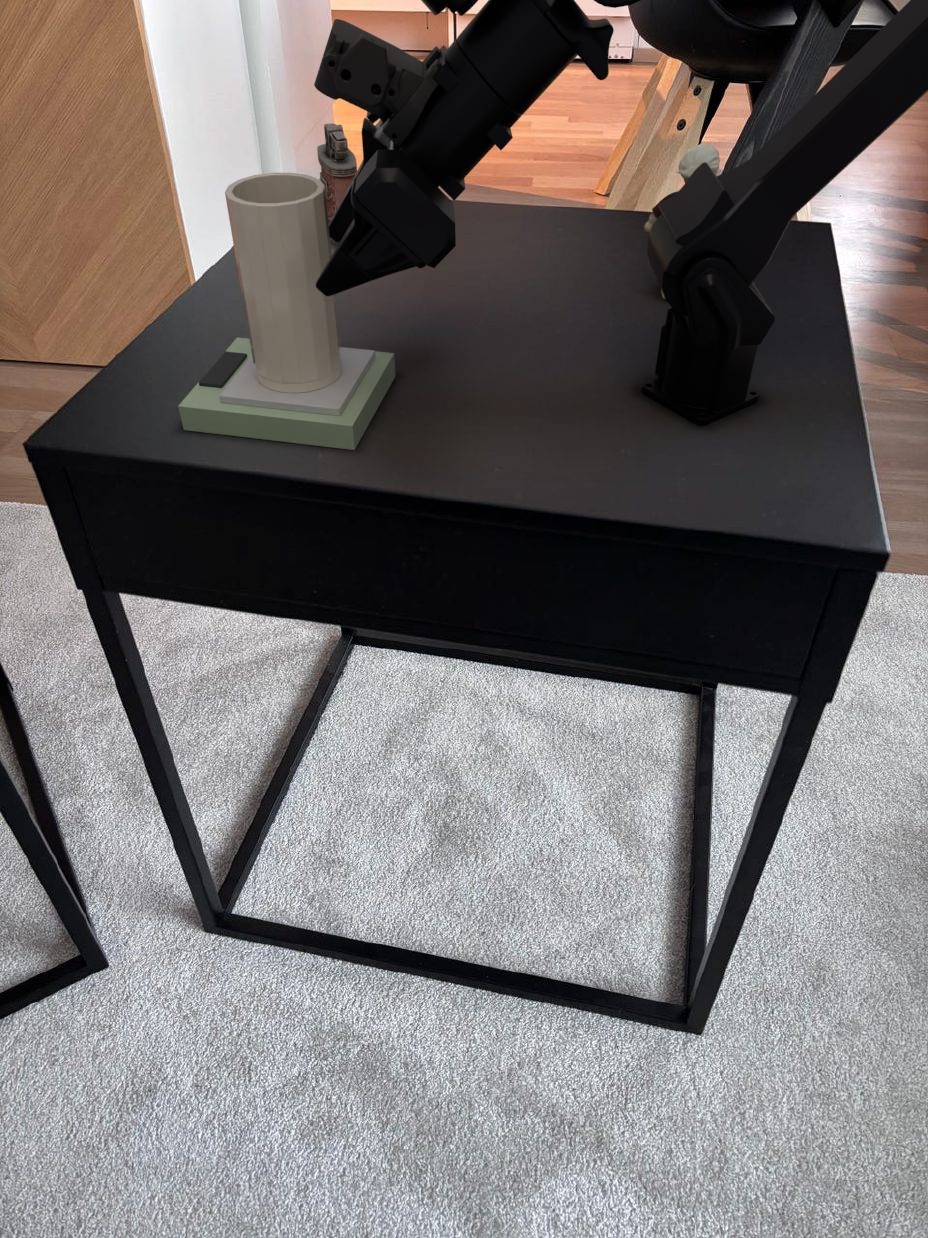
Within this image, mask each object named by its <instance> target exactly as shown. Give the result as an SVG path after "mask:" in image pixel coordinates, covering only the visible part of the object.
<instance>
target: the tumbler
mask: <svg viewBox="0 0 928 1238" xmlns="http://www.w3.org/2000/svg"><path fill="white" fill-rule="evenodd" d="M224 196H225V201H226V209H227V213H228V219H229V226H230V232H231V237H232V238H231V239H232V243H233V249H234V250H233V251H234V256H235V263H236V267H237V273H238V279H239V280H238V281H239V285H240V291H241V297H242V303H243V309H244V316H245V322H246V329H247V333H248V339H249V340H250V346H251V352H252V358H253V364H254V367H255V372H256V377H257V380H258V381H259V382H260V383H261V384H262V385H263V386H265V387H266V388H268V389H271V390H274V391H278V392H285V393H303V392H310V391H314V390H318V389H321V388H324V387H326V386H328V385H330V384H332V383H333V382H335V381H336V380H337V379H338V378H339V376H340V375H341V372H342V363H341V359H342V356H341V347H342V346H341V337H340V327H339V326H340V325H339V316H338V305H337V296H336V295H337V294H335V295H332V296H329V297H328V296H325V295H324V294H323V293H322V292H320V291H319V290H318V289H317V288H316V282H317V280H318V278H319V276H320V275H321V273H322V271H323V269H324V268H325V266H326V264H327V263H328V261H329V259H330V258H331V256H332V254H333V253H332V243H331V239H330V233H329V222H328V212H327V202H326V192H325V185H324V184H323V183H322V182H321V180H320V178H317V177H314V176H312V175H309V174H305V173H298V172H267V173H266V172H265V173H259V174H253V175H250V176H246V177H243V178H240V179H237V180H235V181H233V182H232V183H230V184H228V186H227V188H226V189H225V191H224Z"/></svg>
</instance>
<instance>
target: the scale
mask: <svg viewBox="0 0 928 1238" xmlns="http://www.w3.org/2000/svg"><path fill="white" fill-rule="evenodd" d="M341 356H342V359H341V363H342V372H341V375H340V376H339V378H338V379H337V380H336V381H335V382H333V383H332V384H330V385H328V386H326V387H324V388H321V389H318V390H314V391H310V392H303V393H285V392H278V391H274V390H271V389H268V388H266V387H265V386H263V385H262V384H261V383H260V382H259V381H258V380H257V377H256V372H255V367H254V364H253V358H252V352H251V346H250V340H249V337H248V338H246V337H236V338H235V339H234V340H233V342H232V343H231V344H230V345H229V346H228V348H227V349H226V350H225V351H224V352H223V353H222V354H221V355H220V357H219V358H218V359H217V360H216V361H215V363H214V364H213V365H212V366H211V367H210V368H209V369H208V371H206V373H205V374H204V375H203V376H202V378H201V379H200V380H199V381H198V382H197V383H196V385H195V386H194V387H193V388H192V389H191V390H190V392H188V394H187V395H186V396H185V397H184V398H183V400H182V401H181V402H180V403H179V404H178V405H177V407H178V411H179V415H180V420H181V424H182V429H183V431H189V432H197V433H206V434H213V435H222V436H229V437H239V438H247V439H257V440H264V441H274V442H283V443H290V444H299V445H307V446H317V447H324V448H334V449H341V450H350V451H355V450H356V448H358V445H359V443H360V441H361V440H362V438H363V436H364V435H365V432H366V431H367V429H368V427H369V425H370V423H371V421H372V419H373V417H374V416H375V414H376V413H377V410H378V409H379V408H380V405H381V404H382V401H383V400H384V398H385V396H386V394H387V392H388V390H389V389H390V387H391V386H392V383H393V381H394V380H395V378H396V361H395V359H396V358H395V353H394V352H386V351H377V350H374V349H364V348H354V347H346V346H341Z"/></svg>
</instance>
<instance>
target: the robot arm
mask: <svg viewBox="0 0 928 1238" xmlns="http://www.w3.org/2000/svg"><path fill="white" fill-rule="evenodd" d="M420 1H421V2H422V4H423V5H424V6H425V7H426V8H427V9H428V10H429V11H430V12H431V13H432V14H433V16H438V15H440V14H441V13H442V12H443V11H444V10H446V8H447V9H448V10H449V11H450V13H451V14H452V15H455V13H457V14H458V16H460V17H462V16H464V15H465V14H467V13H468V12H469V11H470V10H471V9H472V8H473V7H474V6H475V5H476V4H477V3H478V1H479V0H420ZM641 1H642V0H593V2H594V3H596V4H598V5H601V6H602V7H606V8H614V9H616V8H621V7H628V6H632V5H634V4H636V3H639V2H641ZM332 23H333V24H332V26H331V29H330V32H329V34H328V38H327V41H326V44H325V47H324V51H323V54H322V58H321V61H320V64H319V67H318V71H317V73H316V77H315V81H314V84H313V87H314V88H315V89H316V90H317V91H318V92H319V93H321V94H322V95H324V96H326V97H328V98H330V99H332V100H333V101H336V100H343V101H345V102H347V103H348V104H351V105H353V106H355V107H357V108H359V109H361V110H363V111H365V112H366V117H364V118H363V120H362V126H361V143H362V157H363V158H362V160H361V163H360V164H359V166H358V168H357V173H356V174H355V177H354V178H353V180H352V182H351V184H350V186H349V188H348V190H347V192H346V194H345V196H344V198H343V199H342V201H341V203H340V205H339V207H338V209H337V211H336V213H335V215H334V217H333V219H332V221H331V222H330V224H329V233H330V237H331V238H332V239H333V240H334V241H335V242H340V243H339V244H338V246H337V245H336V248H335V249H334V251H333V253H332V256H331V258H330V259H329V261H328V263H327V264H326V266H325V268H324V269H323V271H322V273H321V275H320V276H319V278H318V280H317V282H316V288H317V289H318V290H319V291H320V292H322V293H323V294H324V295H325V296H328V297H329V296H332V295H335V294H336V295H337V294H340V293H342V292H345V291H348V290H350V289H354V288H355V287H359V286H362V285H364V284H367V283H370V282H372V281H375V280H378V279H381V278H383V277H387V276H390V275H393V274H396V273H400V272H404V271H406V270H409V269H412V268H418V269H423V268H425V267H429V268H433V269H435V268H436V267H437V266H438V265H439V264H440V263H441V262H442V261H443V260H444V259H445V258H446V257H447V256H448V255H449V254H450V253H451V252H452V251H453V250H454V249H455V248H456V245H457V241H456V238H457V237H456V214H455V203H454V202H455V201H456V200H457V199H458V198H459V197H460V195H462V194H463V192H464V191H465V190H466V181H465V178H466V177H467V176H468V175H469V174H470V173H471V172H472V171H473V169H474V168H475V167H476V166H477V165H478V164H479V163H480V162H481V161H482V160H483V159H484V157H485V156H486V155H488V154H489V152H490V151H491V150H492V149H493V148H494V146H496V147H497V148H498V149H499V151H502V150H503V149H504V148H505V147H506V146H507V145H508V144H509V143H510V141H512V139H513V133H512V127H513V126H514V125H515V124H516V123H517V122H518V120H520V119H521V118H522V117H523V115H524V114H525V113H527V111H528V110H529V109H530V108H531V107H532V106H533V104H534V103H536V101H537V100H538V99H539V98H540V97H541V96H542V94H544V93H545V92H546V90H547V89H549V87H550V86H551V85H552V84H553V83H554V82H555V81H556V79H557V78H559V76H560V75H561V74H562V73H563V72H564V71H565V69H567V67H569V66H570V64H572V62H573V61H574V60H575V59H576V58H577V57H579V58H580V59H581V61H582V63H584V64H585V66H586V67H587V68H588V70H589V71H590V72H591V73H592V74H593V75H594V77H595V78H596V79H597V80H598V81H605V80H606V79H607V78H608V77H609V73H610V70H609V58H610V57H609V54H610V46H611V41H612V37H613V35H614V32H615V30H614V27H613V25H612V23H611V22H610V20H608V19H607V18H600V19H590V18H589V17H588V16H587V14H586V12H585V11H584V10H583V9H582V8H581V7H580V6H579V4H578V3H577V2H576V0H487V2H486V3H484V5H483V6H482V8H481V9H480V10H479V11H478V12H477V13H476V14H475V16H474V17H473V18H472V19H471V21H470V22H469V23H468V24H467V25H466V26H465V27H464V29H463V30H462V31H461V32H460V33H459V34H458V36H457V37H456V38H455V39H454V40H453V42H452V43H451V44H450V45H449V47H448V48H447V47H446V46H445V44H443V45H441V47H440V48H439V47H438V46H437V45H436V46H434V47H433V48H432V49H431V51H430V52H429V53H428V55H427V56H426V57H425V58H424V59H423V60H420V59H419V58H417V57H415V56H413V55H411V54H409V53H407V52H406V51H404V50H403V49H401V48H399V47H398V46H396V45H394V44H392V43H390V42H388V41H386V40H384V39H382V38H381V37H378V36H377V35H374V34H372V33H370V32H369V31H367V30H364V29H363V28H360V27H359V26H356V25H355V24H352V23H350V22H348V21H346V20H344V19H340V18H335V19H334V20H333V22H332ZM927 93H928V0H909V1H908V2H907V3H906V4H905V5H904V6H903V7H902V8H901V9H900V10H898V12H897V13H896V14H895V15H894V16H893V17H891V19H890V20H889V21H888V22H887V23H886V24H885V25H884V26H883V27H882V28H881V29H880V30H878V32H876V34H874V36H873V37H871V39H870V40H869V41H867V42H866V43H865V44H864V46H863V47H862V48H860V49H859V51H857V52H856V54H855V55H853V56H852V58H850V59H849V60H848V61H847V62H846V63H845V64H844V65H843V66H842V67H841V68H840V69H839V70H838V71H837V72H836V73H835V74H834V75H833V76H832V77H831V78H830V79H829V80H828V81H827V82H826V83H825V84H824V85H823V86H822V87H821V88H820V89H819V90H818V91H817V92H816V93H815V94H813V96H812V97H811V98H810V99H809V100H808V101H807V102H806V103H805V104H803V106H802V107H801V108H800V109H799V110H798V111H797V112H796V113H795V114H794V115H792V117H791V118H789V120H788V121H787V122H786V123H785V124H784V125H783V126H782V127H781V128H780V129H779V130H778V131H777V132H776V133H775V134H773V136H771V138H769V140H767V141H766V143H765V144H763V146H761V147H760V148H759V149H758V150H757V151H756V152H755V153H754V154H753V155H752V156H751V157H750V158H749V159H747V160H746V161H744V162H743V163H742V164H740V165H738V166H735V167H734V168H732V169H729V170H727V171H725V172H723V173H721V174H719V175H717V176H716V175H715V174H714V172H713V171H712V170H711V168H710V167H709V165H708V164H707V163H706V162H704V163H702V164H701V165H700V166H699V167H698V168H697V169H696V170H695V171H694V172H693V173H692V175H691V176H690V178H689V179H688V180H687V182H686V183H685V182H684V184H683V185H682V187H680V189H679V190H678V192H677V191H676V192H677V193H676V194H674V195H673V196H672V197H671V198H669V199H667V200H665V201H663V202H661V203H659V202H658V203H659V204H658V203H657V204H658V208H659V210H660V212H661V215H660V216H659V218H658V219H657V220H656V222H655V223H654V224H653V226H652V228H651V230H650V232H649V233H648V235H647V237H648V239H647V252H646V253H647V257H648V261H649V265H650V267H651V268H652V271H653V274H654V276H655V278H656V281H657V282H658V285H659V288H660V291H661V290H662V292H663V294H664V297H665V299H664V300H666V302H667V303H668V305H669V306H670V307H671V308H668V309H667V311H666V318H665V323H664V324H663V325H662V326H661V330H660V336H659V341H658V350H657V356H656V363H655V369H654V375H655V376H656V378H653V379H650V380H648V381H646V382H643V383H642V385H641V391H642V392H643V393H644V394H646V395H647V396H648V397H651V398H652V399H654V400H656V401H658V402H660V403H661V404H663V405H665V406H667V407H668V408H670V409H672V410H674V411H675V412H677V413H678V414H681V415H682V416H684V417H685V418H687V419H689V420H691V421H693V422H694V423H696V424H699V425H705V424H709V423H710V422H712V421H714V420H717V419H719V418H721V417H724V416H726V415H728V414H731V413H733V412H735V411H737V410H740V409H742V408H744V407H747V406H749V405H751V404H753V403H756V402H758V401H759V398H760V395H761V394H760V392H759V391H757V390H755V389H754V388H751V387H749V386H750V382H751V378H752V373H753V368H754V365H755V360H756V355H757V351H758V346H760V345H761V344H762V343H763V341H764V339H765V338H766V336H767V334H768V333H769V331H770V329H771V328H772V326H773V325H774V324H775V321H776V317H775V315H774V313H773V312H772V310H771V308H770V306H769V305H768V303H767V302H766V300H765V299H764V297H763V296H762V294H761V292H760V291H759V288H758V287H757V286H756V284H755V281H756V280H757V278H759V276H760V275H761V274H762V272H763V271H764V270H765V269H766V268H767V267H768V265H769V263H770V262H771V259H772V257H773V255H774V254H775V252H776V249H777V248H778V245H779V243H780V242H781V240H782V238H783V236H784V234H785V232H786V230H787V228H788V226H789V225H790V223H791V221H792V219H794V217H795V216H796V215H797V214H798V213H799V212H800V211H801V210H802V209H803V208H804V207H805V206H806V205H807V204H808V203H810V202H811V201H812V200H813V199H814V198H815V197H816V196H817V195H818V194H819V193H820V192H821V191H822V190H823V189H824V188H825V187H827V186H828V185H829V184H830V183H831V182H832V181H833V180H835V178H836V177H838V175H840V174H841V173H842V172H843V171H844V170H845V169H846V168H847V167H848V166H849V165H850V164H851V163H853V162H854V160H856V159H857V158H858V157H860V155H861V154H863V152H864V151H865V150H867V148H869V147H870V146H871V145H872V144H873V143H874V142H875V141H876V140H878V138H880V137H881V136H882V135H883V134H884V133H885V132H886V131H887V130H888V129H889V128H890V127H891V126H893V125H894V124H895V123H896V122H897V121H898V120H899V119H900V118H901V117H902V116H903V115H904V114H905V113H906V112H907V111H909V110H910V109H911V108H912V107H913V106H914V105H915V104H916V103H917V102H918V101H919V100H920V99H921V98H923V97H924V96H925V95H926V94H927ZM377 121H378V122H377ZM375 123H376V124H375ZM439 187H440V188H441V189H440V188H439ZM442 190H443V191H442ZM444 192H445V193H444ZM450 198H451V199H450ZM452 200H453V201H452Z"/></svg>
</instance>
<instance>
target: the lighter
mask: <svg viewBox="0 0 928 1238" xmlns="http://www.w3.org/2000/svg"><path fill="white" fill-rule="evenodd" d="M323 130H324V131H323V132H324V141H325V143H323V144H320V145H318V146H317V149H316V151H317V161H318V163H319V166H320V172H319V180H321V182H322V183H323V184H324V185H325V192H326V202H327V212H328V222H329V224H330V222H331V221H332V219H333V217H334V215H335V213H336V211H337V209H338V207H339V205H340V203H341V201H342V199H343V198H344V196H345V194H346V192H347V190H348V188H349V186H350V184H351V182H352V180H353V178H354V177H355V175H356V173H357V171H358V164H357V157H356V155H355V153H354V152H353V151H352V150H351V149H350V148H349V147H348V145H349V144H348V138H347V137H346V136H345V132H344V129H343V125H342V124H336V123H333V122H332V123H331V122H330V123H324V124H323ZM331 241H332V242H333V244H335V245H336V247H337V246H338V244H339V243H340V242H335V241H334V240H333V239H332V238H331V237H330V242H331Z"/></svg>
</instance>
